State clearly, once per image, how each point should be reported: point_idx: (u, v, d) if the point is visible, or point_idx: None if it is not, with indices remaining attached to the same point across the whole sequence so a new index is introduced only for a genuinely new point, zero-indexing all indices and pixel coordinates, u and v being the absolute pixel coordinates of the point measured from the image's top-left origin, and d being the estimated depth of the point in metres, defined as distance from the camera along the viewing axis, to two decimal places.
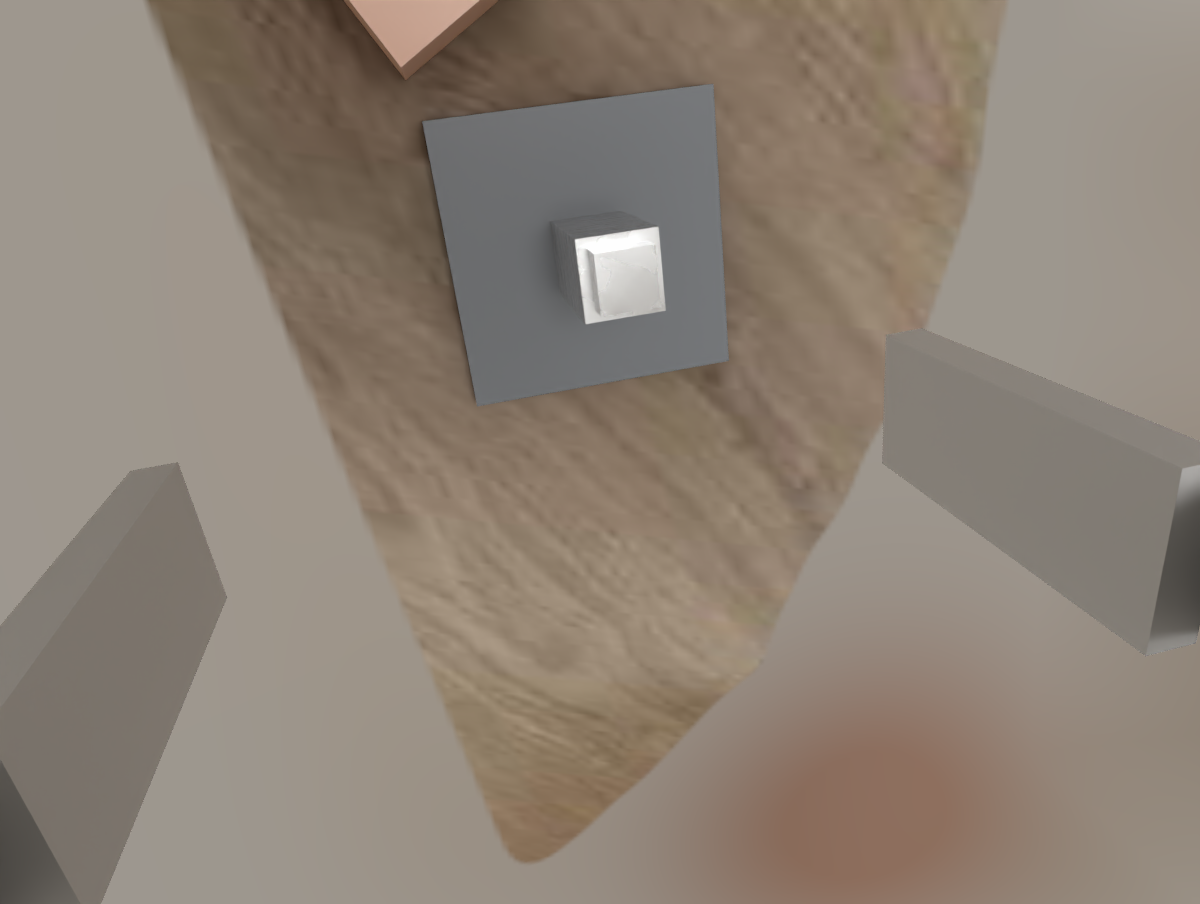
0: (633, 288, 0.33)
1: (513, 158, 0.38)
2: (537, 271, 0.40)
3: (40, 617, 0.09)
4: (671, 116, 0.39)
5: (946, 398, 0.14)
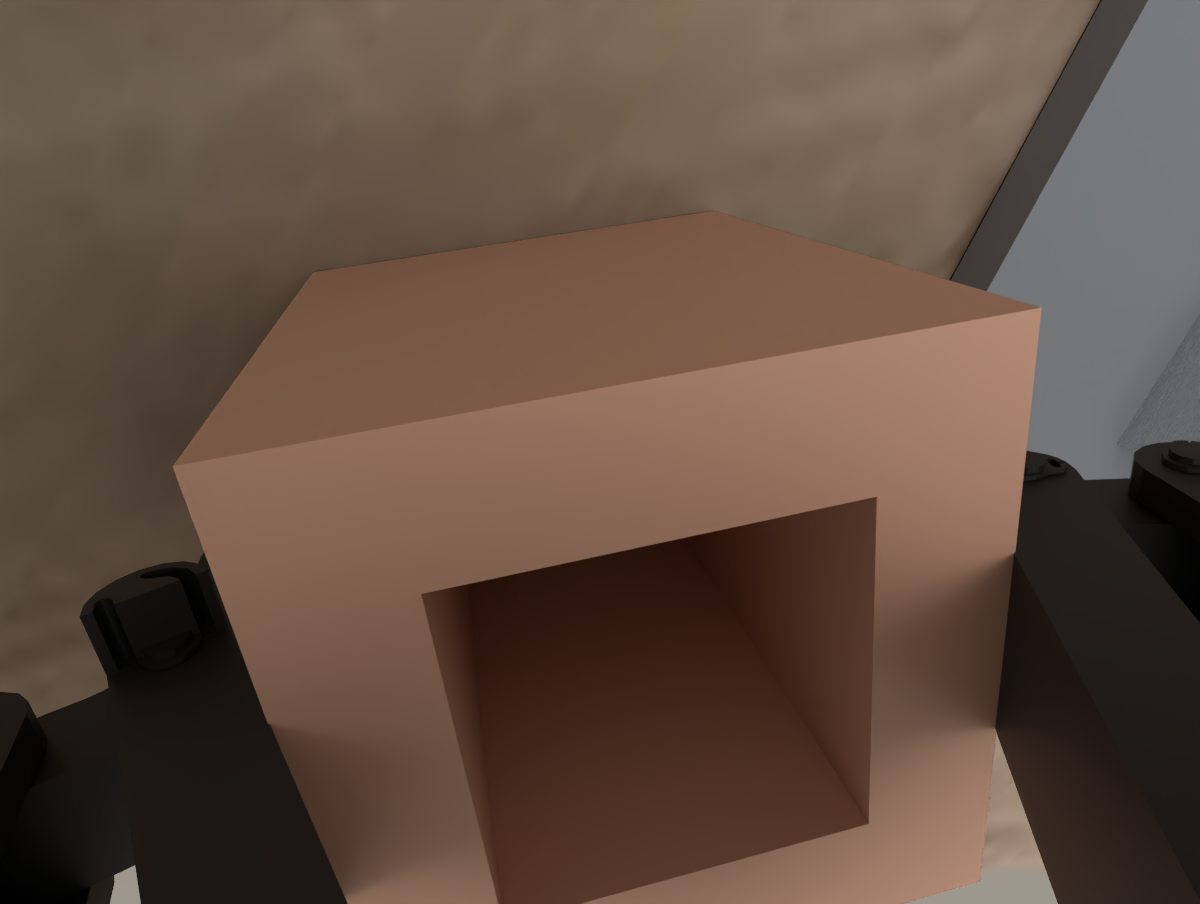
0: None
1: None
2: None
3: None
4: (1166, 73, 0.15)
5: None
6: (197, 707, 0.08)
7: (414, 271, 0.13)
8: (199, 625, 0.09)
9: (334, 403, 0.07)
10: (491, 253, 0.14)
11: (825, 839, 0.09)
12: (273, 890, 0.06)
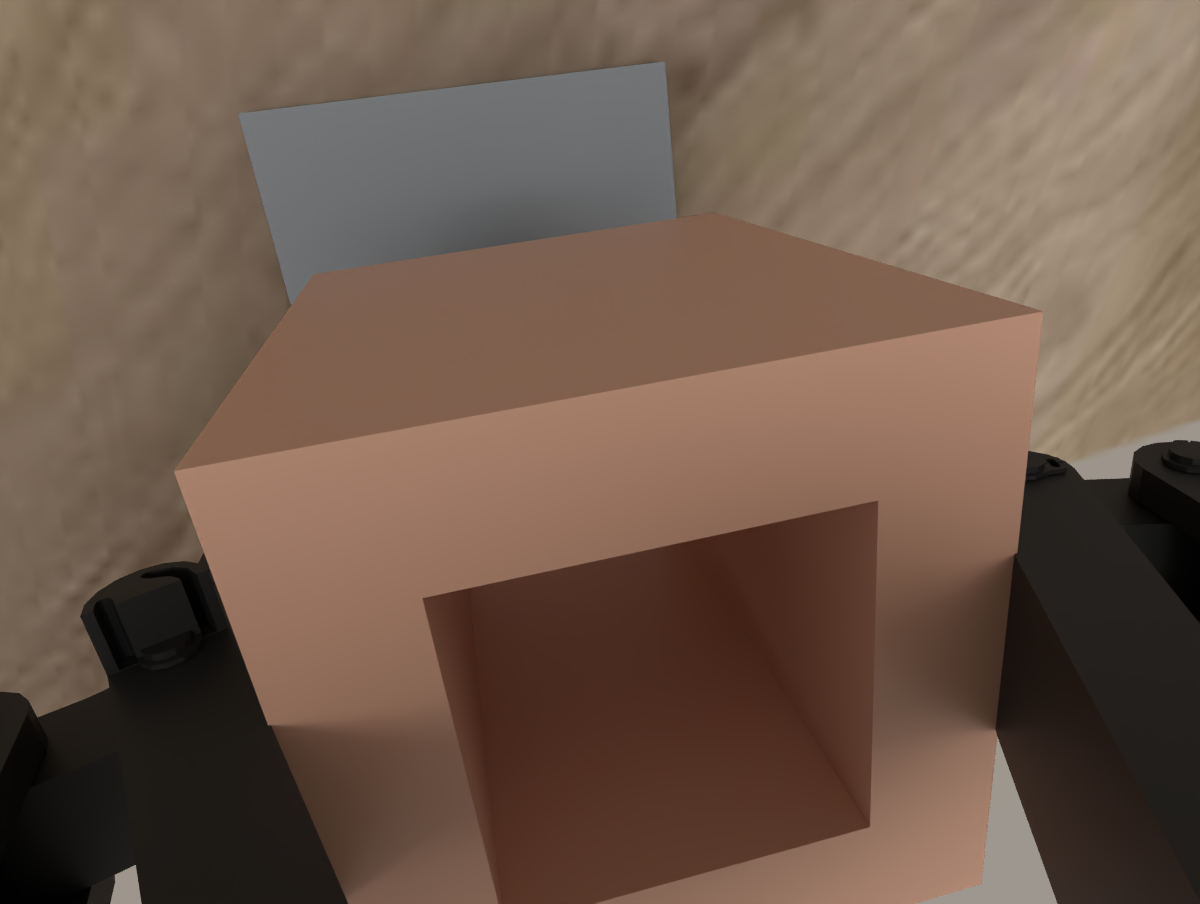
0: None
1: None
2: None
3: None
4: (295, 182, 0.26)
5: None
6: (197, 707, 0.08)
7: (415, 273, 0.13)
8: (199, 625, 0.09)
9: (335, 407, 0.07)
10: (492, 255, 0.14)
11: (827, 840, 0.09)
12: (273, 891, 0.06)
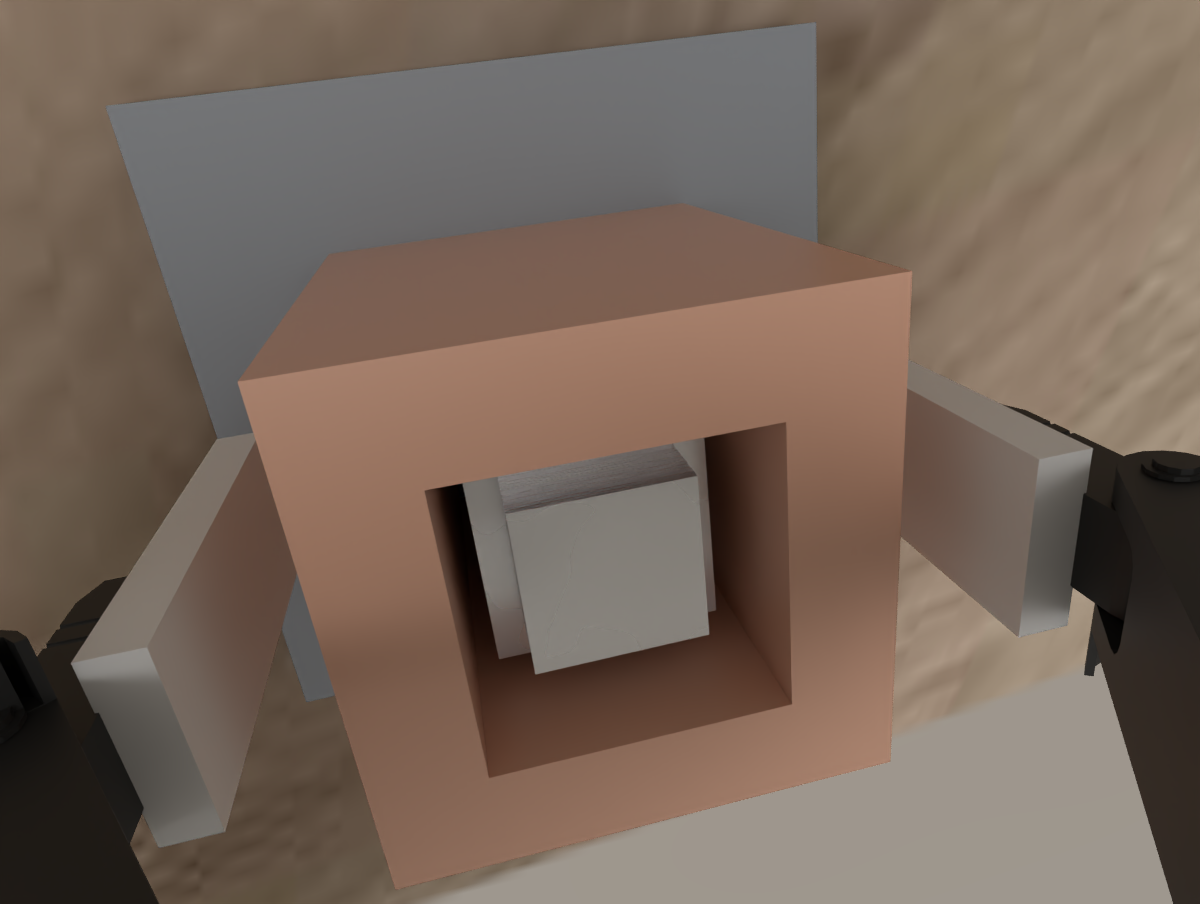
0: (636, 561, 0.11)
1: None
2: None
3: (168, 559, 0.10)
4: (210, 220, 0.16)
5: None
6: (21, 792, 0.07)
7: (418, 252, 0.15)
8: (23, 699, 0.08)
9: (356, 342, 0.09)
10: (485, 238, 0.16)
11: (756, 715, 0.11)
12: None
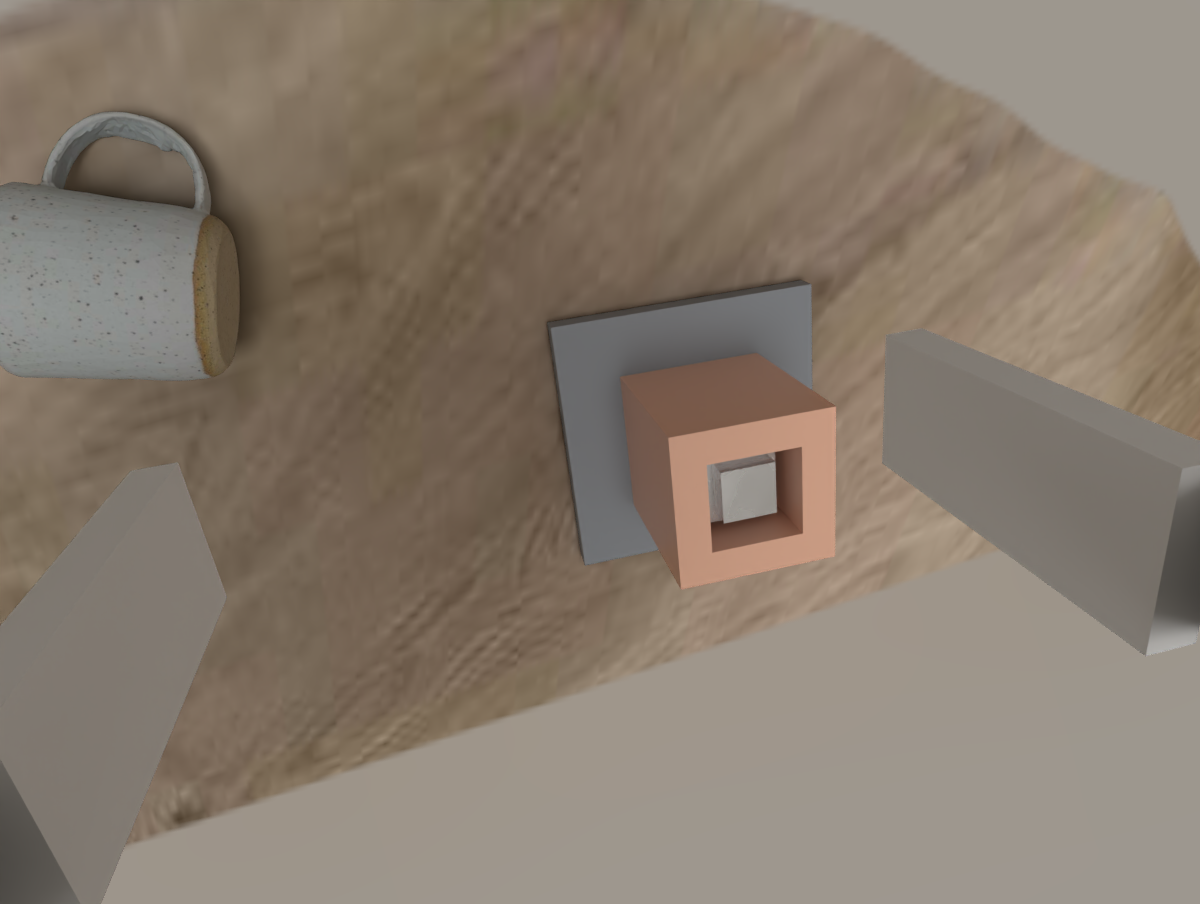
0: (756, 488, 0.36)
1: (613, 498, 0.44)
2: None
3: (40, 617, 0.09)
4: (579, 366, 0.41)
5: (946, 398, 0.14)
6: None
7: (662, 379, 0.40)
8: None
9: (687, 425, 0.34)
10: (683, 371, 0.41)
11: (791, 536, 0.37)
12: None
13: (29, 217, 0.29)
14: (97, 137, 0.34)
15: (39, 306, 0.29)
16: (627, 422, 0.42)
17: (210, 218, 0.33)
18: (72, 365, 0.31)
